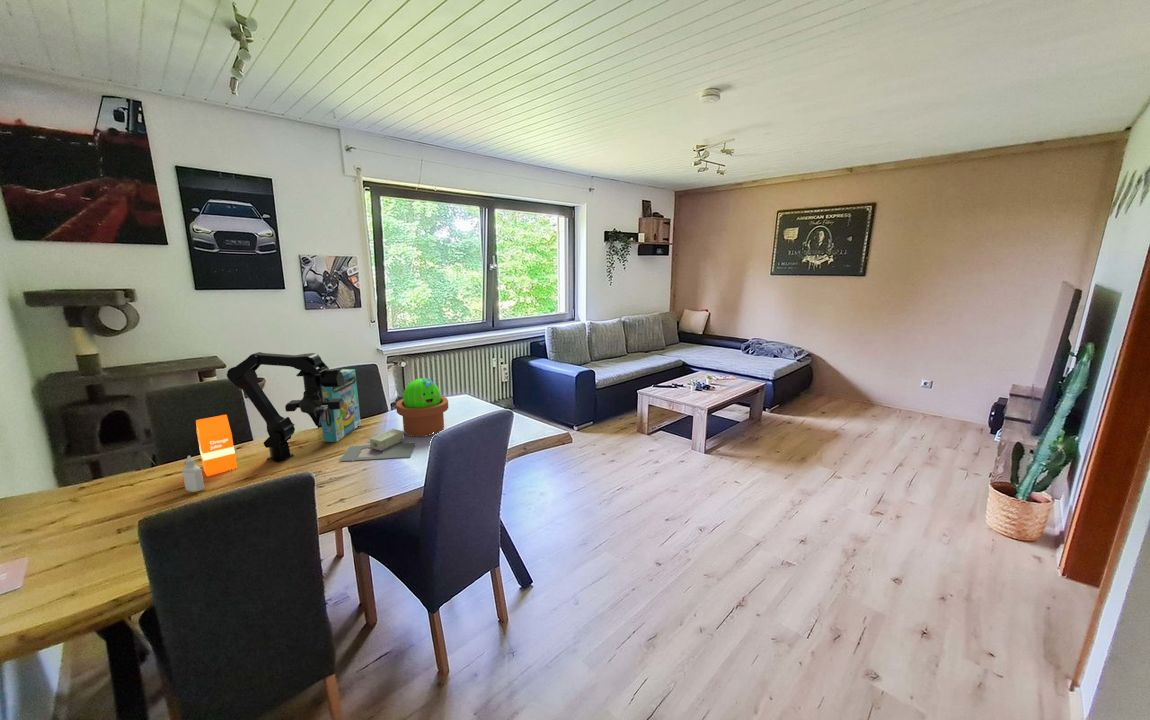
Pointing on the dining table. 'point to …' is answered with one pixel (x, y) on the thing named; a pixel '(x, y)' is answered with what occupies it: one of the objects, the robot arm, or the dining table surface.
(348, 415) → the game box
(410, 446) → the flat grey rectangular plate
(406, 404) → the potted cactus
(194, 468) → the eye dropper bottle
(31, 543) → the dining table surface
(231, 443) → the orange juice
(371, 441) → the skincare box
